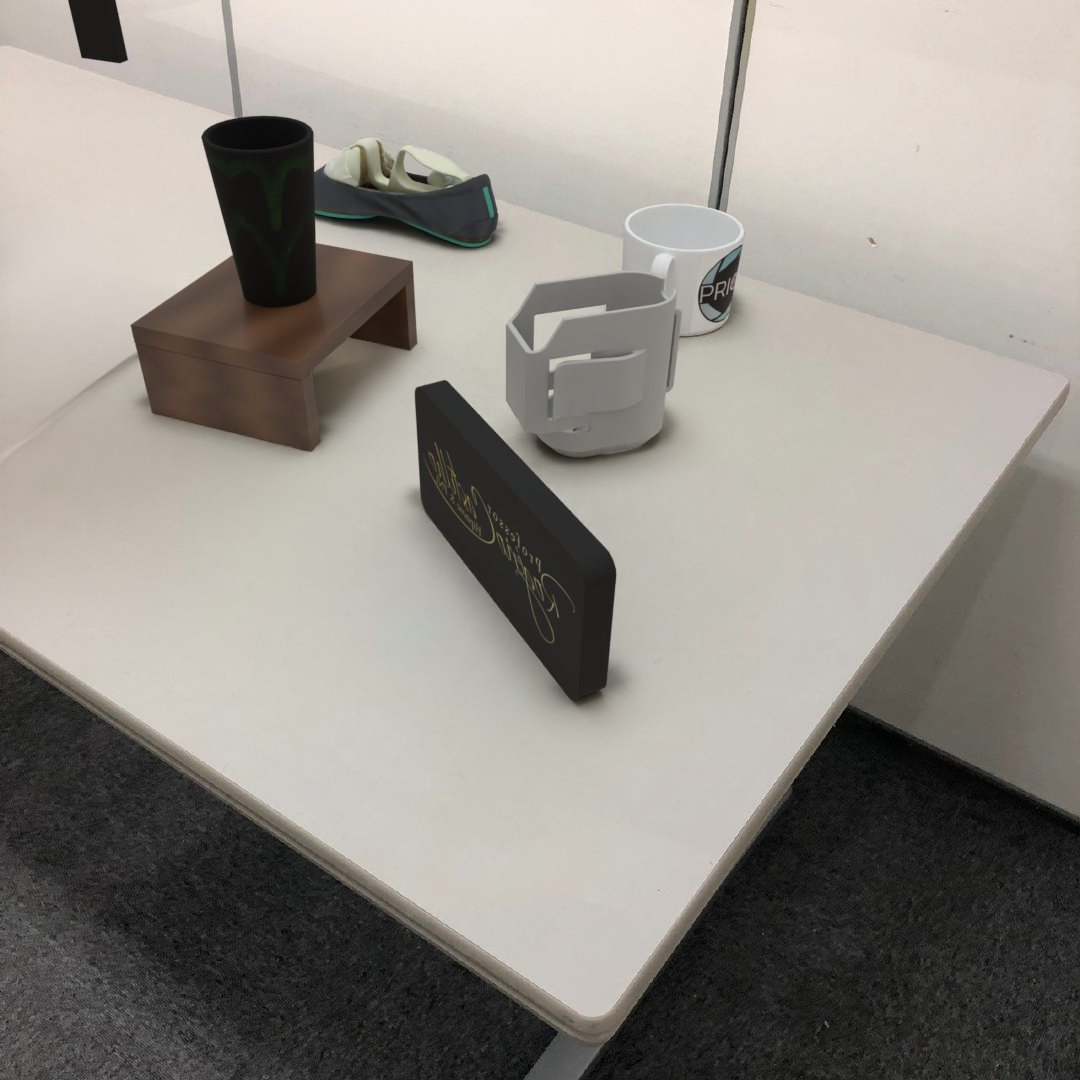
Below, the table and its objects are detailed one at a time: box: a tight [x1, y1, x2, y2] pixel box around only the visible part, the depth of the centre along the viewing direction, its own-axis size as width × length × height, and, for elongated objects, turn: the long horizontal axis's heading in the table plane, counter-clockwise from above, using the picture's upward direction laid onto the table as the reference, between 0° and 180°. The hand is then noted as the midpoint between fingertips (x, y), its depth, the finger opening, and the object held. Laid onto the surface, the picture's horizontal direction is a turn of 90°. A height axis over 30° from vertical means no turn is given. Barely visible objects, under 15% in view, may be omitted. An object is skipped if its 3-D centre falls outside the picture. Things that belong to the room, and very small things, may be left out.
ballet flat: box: [314, 136, 499, 248], centre depth 109 cm, size 8×24×8 cm, turn 63°
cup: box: [200, 115, 317, 308], centre depth 78 cm, size 8×8×12 cm
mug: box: [621, 203, 746, 337], centre depth 93 cm, size 13×10×8 cm
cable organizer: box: [505, 270, 682, 459], centre depth 76 cm, size 7×12×12 cm, turn 110°
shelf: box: [130, 242, 418, 452], centre depth 84 cm, size 14×18×8 cm
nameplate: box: [414, 379, 617, 701], centre depth 63 cm, size 21×2×10 cm, turn 29°
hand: (22, 91), depth 57 cm, fingers open, 13 cm apart
